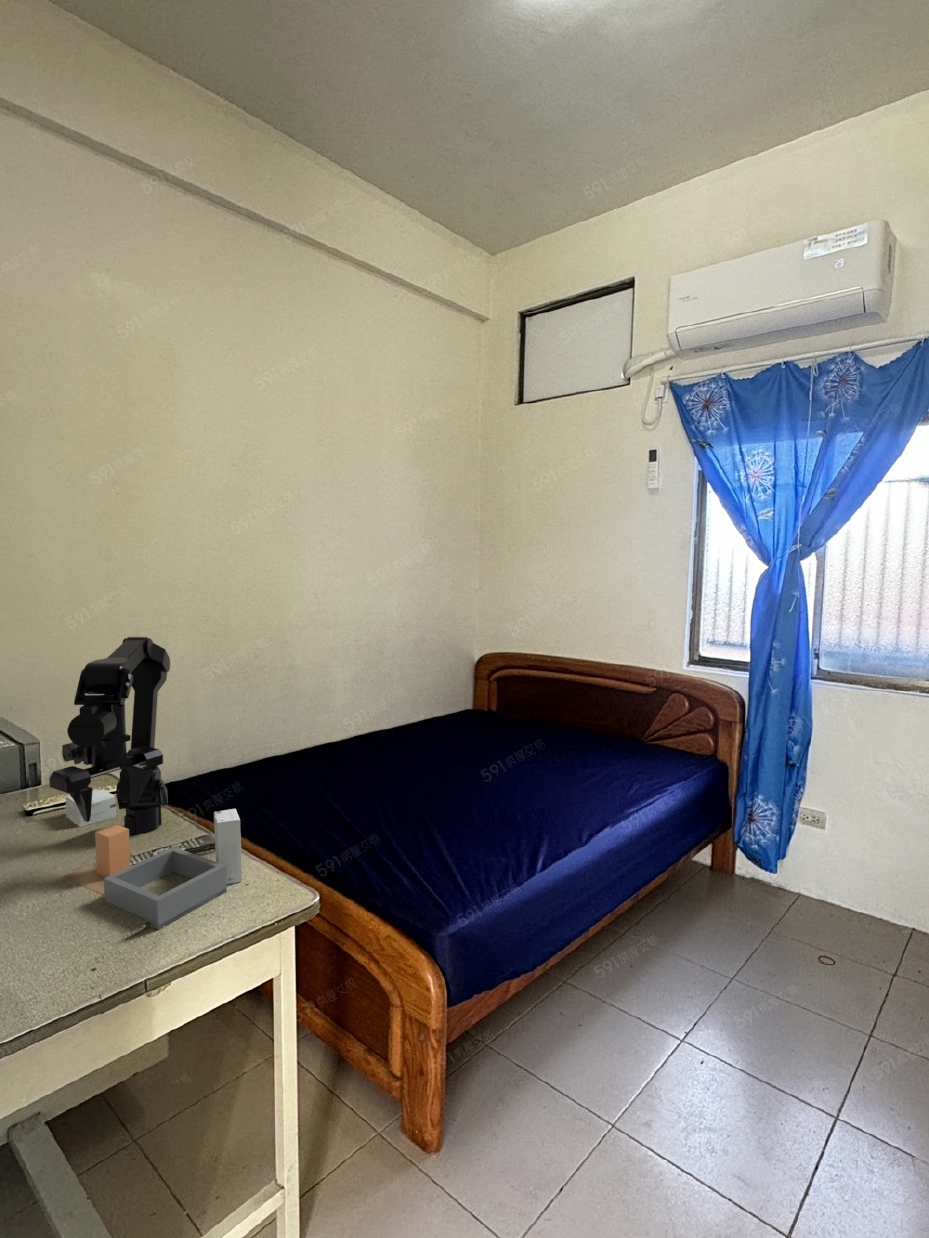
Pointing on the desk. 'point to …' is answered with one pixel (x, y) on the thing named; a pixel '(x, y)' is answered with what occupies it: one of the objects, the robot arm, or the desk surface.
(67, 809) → the small box
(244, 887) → the desk surface
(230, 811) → the skincare box
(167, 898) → the bin
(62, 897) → the desk surface
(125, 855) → the tan wooden brick
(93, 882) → the stud base
